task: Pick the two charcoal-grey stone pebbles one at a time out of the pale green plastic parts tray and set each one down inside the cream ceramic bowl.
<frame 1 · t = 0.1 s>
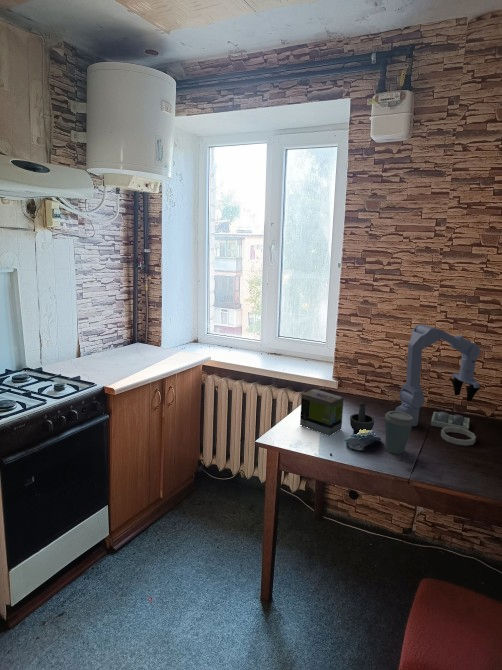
hand: (463, 397, 199), 10 cm above the table, tool pointing down, fingers open, 7 cm apart
parts tray: (449, 425, 194), on the table
small aquarium: (320, 428, 188), on the table
mortar and pestle: (360, 433, 184), on the table
pebble a: (457, 425, 192), point 1 cm above the table, touching parts tray
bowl: (457, 440, 180), on the table
pebble b: (442, 422, 195), point 1 cm above the table, touching parts tray
disposable coffee cup: (395, 451, 170), on the table
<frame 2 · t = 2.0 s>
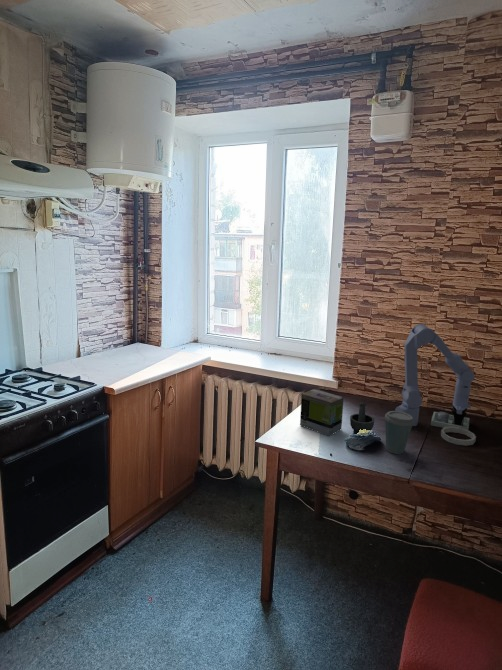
hand: (457, 424, 192), 2 cm above the table, tool pointing down, fingers closed on pebble a, 4 cm apart
pebble a: (457, 425, 192), point 1 cm above the table, touching gripper, parts tray
everything else where it was.
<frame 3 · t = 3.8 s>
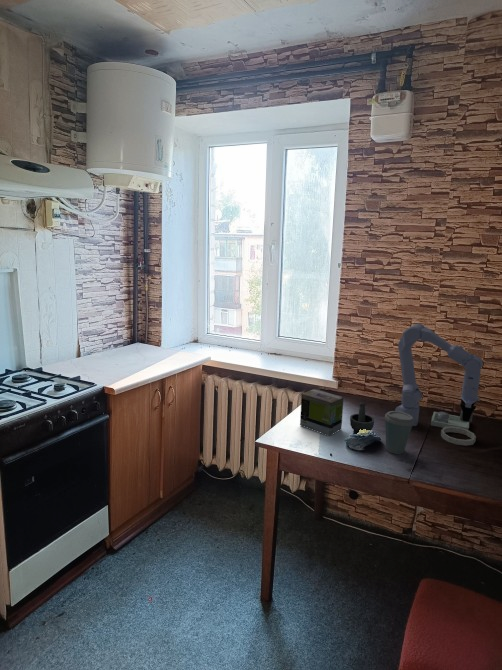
hand: (465, 418, 179), 9 cm above the table, tool pointing down, fingers closed on pebble a, 4 cm apart
pebble a: (465, 420, 180), point 8 cm above the table, touching gripper
everything else where it was.
when the fingers open (3 cm above the table, at t = 5.5 s): pebble a drops 2 cm, resting on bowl.
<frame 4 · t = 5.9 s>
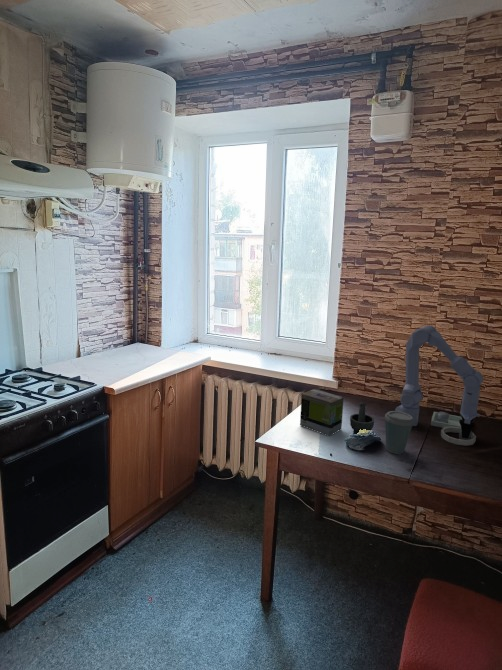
hand: (465, 433, 178), 3 cm above the table, tool pointing down, fingers open, 7 cm apart
pebble a: (464, 439, 179), point 1 cm above the table, touching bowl
everything else where it was.
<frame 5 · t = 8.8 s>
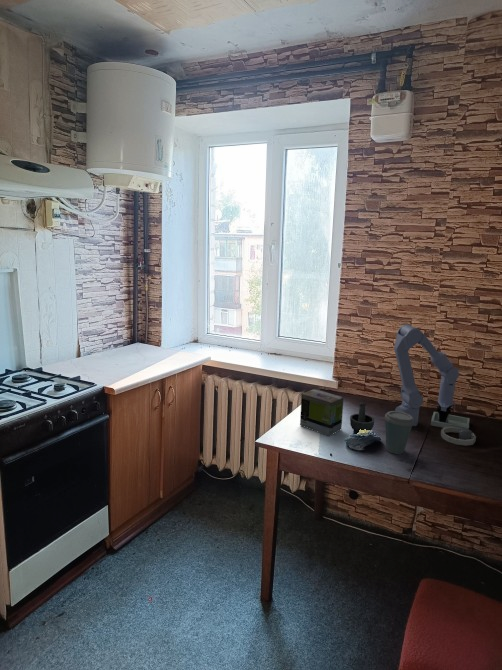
hand: (442, 421, 195), 2 cm above the table, tool pointing down, fingers closed on pebble b, 4 cm apart
pebble b: (442, 422, 195), point 1 cm above the table, touching gripper, parts tray
everything else where it was.
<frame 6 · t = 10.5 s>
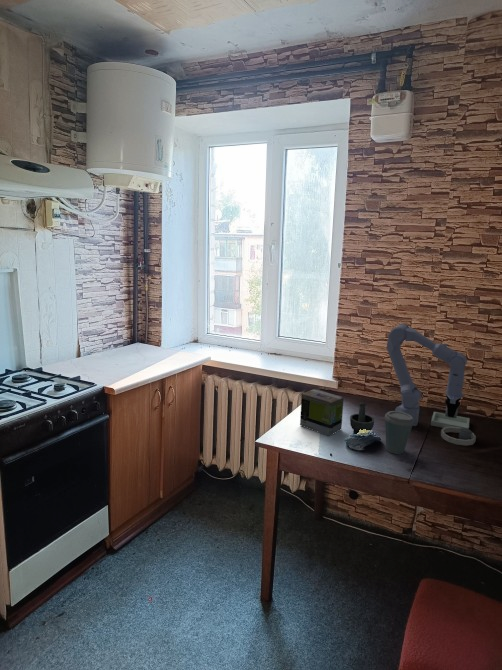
hand: (451, 414, 183), 9 cm above the table, tool pointing down, fingers closed on pebble b, 4 cm apart
pebble b: (451, 415, 183), point 8 cm above the table, touching gripper
everything else where it was.
when the fingers open (3 cm above the table, at t = 12.3 s): pebble b drops 2 cm, resting on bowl.
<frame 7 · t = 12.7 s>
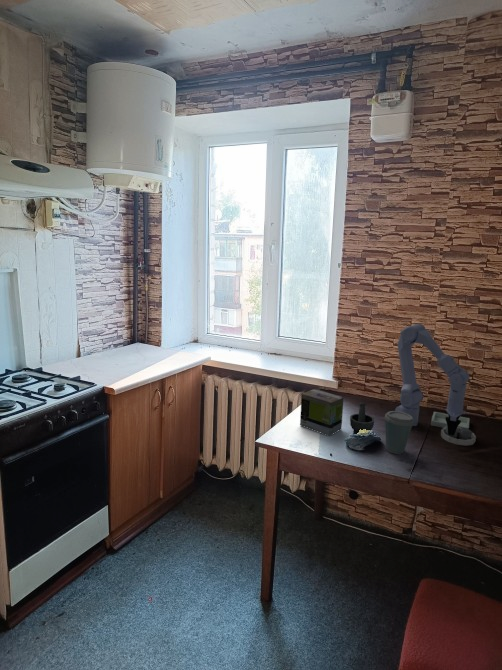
hand: (451, 431, 180), 3 cm above the table, tool pointing down, fingers open, 7 cm apart
pebble b: (451, 437, 181), point 1 cm above the table, touching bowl
everything else where it was.
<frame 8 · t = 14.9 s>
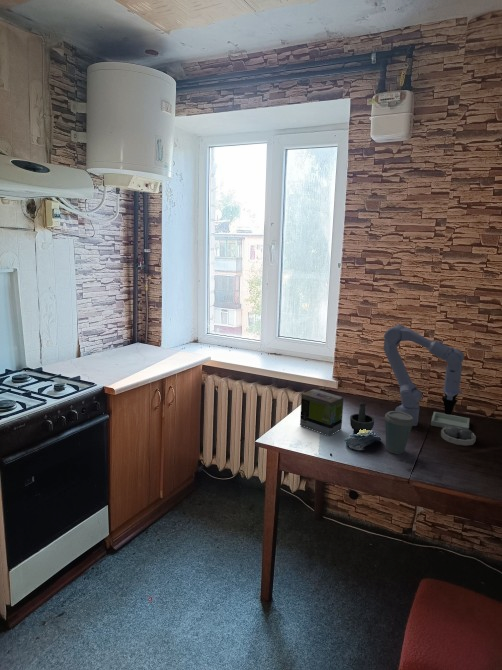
hand: (448, 411, 183), 10 cm above the table, tool pointing down, fingers open, 7 cm apart
nothing on the table moved.
at the end: pebble a inside the target area on the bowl (2.5 cm from its centre), point 0.8 cm above the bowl's base; pebble b inside the target area on the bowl (2.4 cm from its centre), point 0.8 cm above the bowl's base; the gripper is holding nothing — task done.
